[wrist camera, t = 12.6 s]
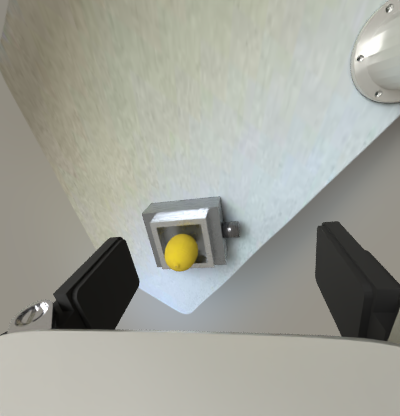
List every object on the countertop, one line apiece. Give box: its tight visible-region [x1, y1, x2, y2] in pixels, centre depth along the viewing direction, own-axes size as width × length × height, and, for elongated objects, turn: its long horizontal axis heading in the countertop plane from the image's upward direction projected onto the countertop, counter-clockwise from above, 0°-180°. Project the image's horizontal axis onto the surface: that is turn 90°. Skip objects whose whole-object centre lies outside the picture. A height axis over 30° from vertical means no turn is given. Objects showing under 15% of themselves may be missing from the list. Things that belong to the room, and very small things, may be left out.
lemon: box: [164, 234, 198, 271], centre depth 37 cm, size 6×6×8 cm
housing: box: [142, 196, 240, 269], centre depth 42 cm, size 17×12×7 cm
